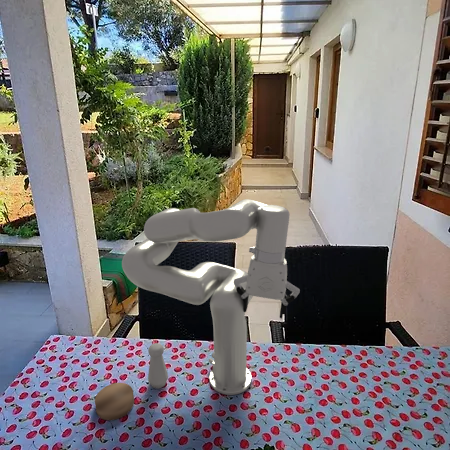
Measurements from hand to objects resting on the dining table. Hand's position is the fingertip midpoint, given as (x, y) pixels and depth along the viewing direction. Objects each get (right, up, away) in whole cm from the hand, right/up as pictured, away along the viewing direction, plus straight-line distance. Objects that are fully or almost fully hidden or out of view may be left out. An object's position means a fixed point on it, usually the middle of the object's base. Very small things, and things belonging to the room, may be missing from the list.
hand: (263, 312), depth 92 cm
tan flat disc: (-40, -26, +2) cm, 48 cm away
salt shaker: (-30, -24, +9) cm, 39 cm away
